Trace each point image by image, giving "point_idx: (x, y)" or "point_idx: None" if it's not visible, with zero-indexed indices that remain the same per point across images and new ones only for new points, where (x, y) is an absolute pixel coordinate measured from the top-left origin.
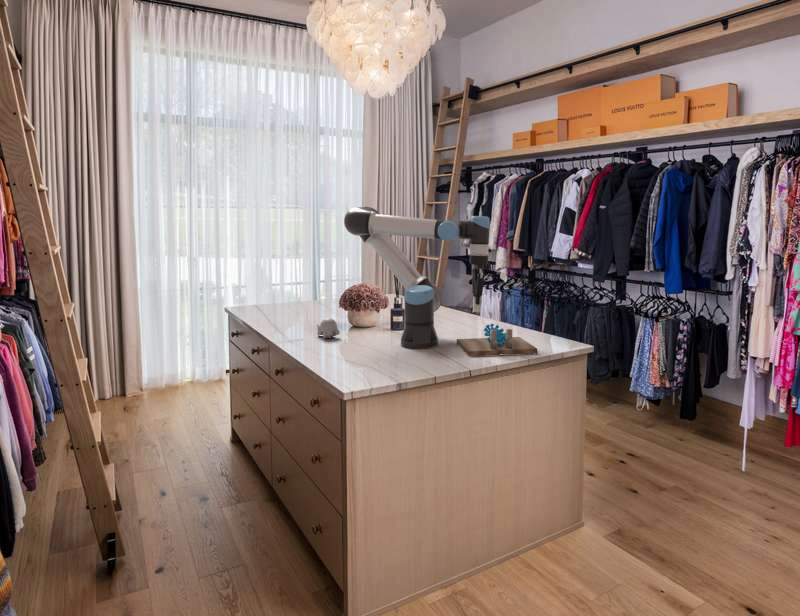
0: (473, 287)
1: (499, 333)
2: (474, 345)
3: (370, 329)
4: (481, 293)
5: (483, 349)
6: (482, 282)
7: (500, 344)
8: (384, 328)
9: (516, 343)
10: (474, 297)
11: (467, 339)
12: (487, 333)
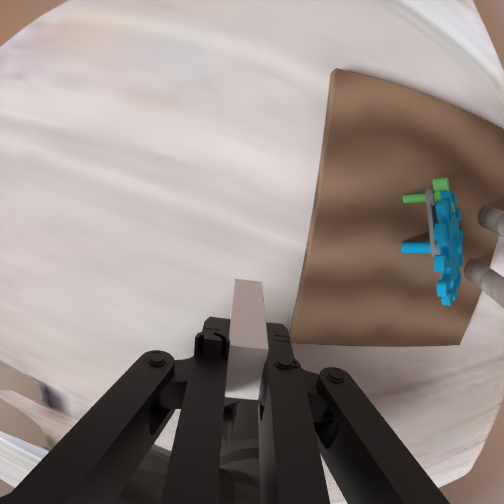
0: (152, 441)
1: (453, 229)
2: (413, 313)
3: (58, 436)
4: (354, 392)
5: (465, 301)
6: (426, 490)
7: (462, 233)
8: (42, 412)
9: (447, 152)
10: (257, 392)
11: (315, 308)
12: (456, 290)
